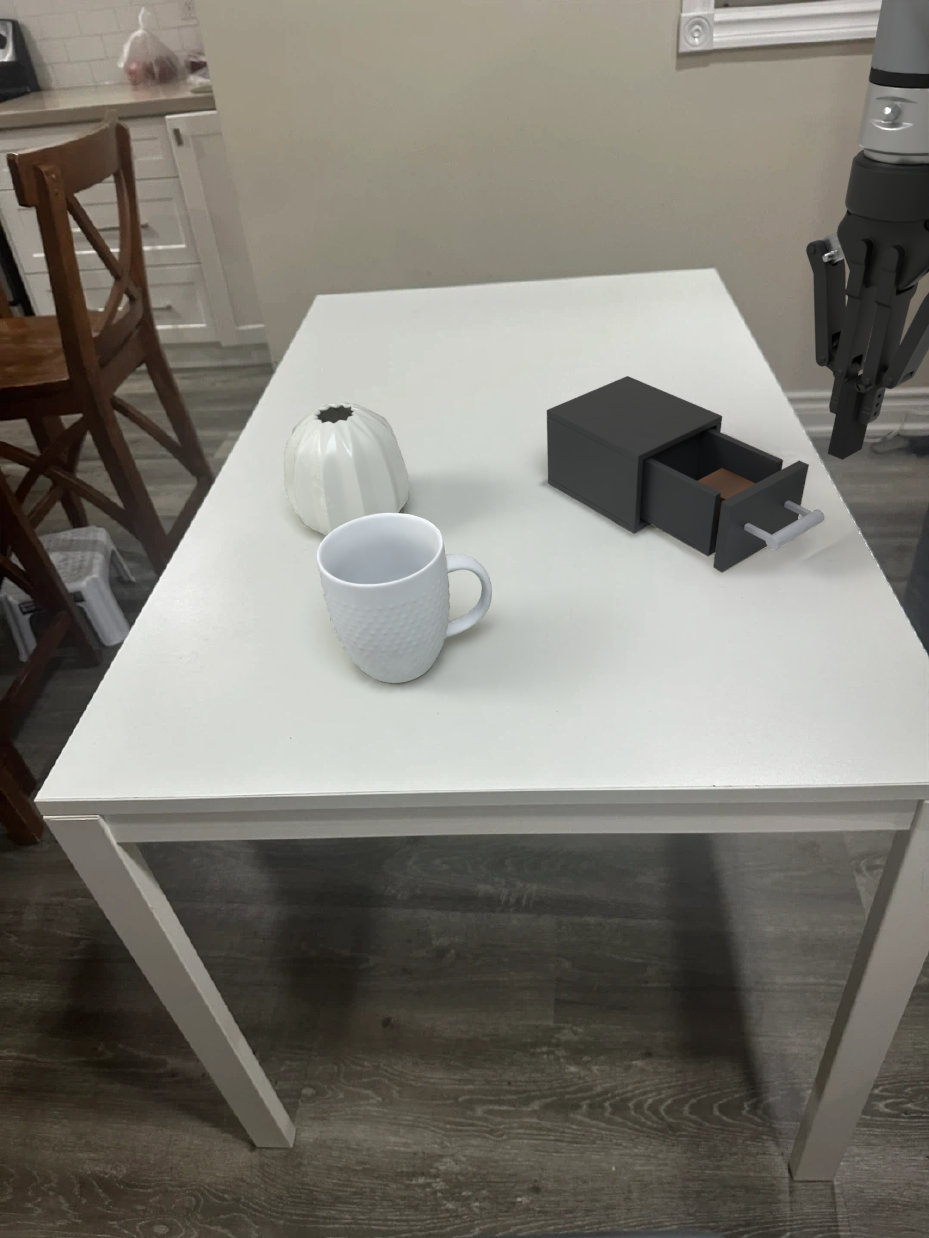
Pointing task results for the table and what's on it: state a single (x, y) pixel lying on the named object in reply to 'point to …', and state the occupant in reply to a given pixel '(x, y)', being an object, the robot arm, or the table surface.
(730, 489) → the block
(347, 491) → the vase
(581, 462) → the cabinet
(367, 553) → the mug
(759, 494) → the drawer
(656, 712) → the table surface
